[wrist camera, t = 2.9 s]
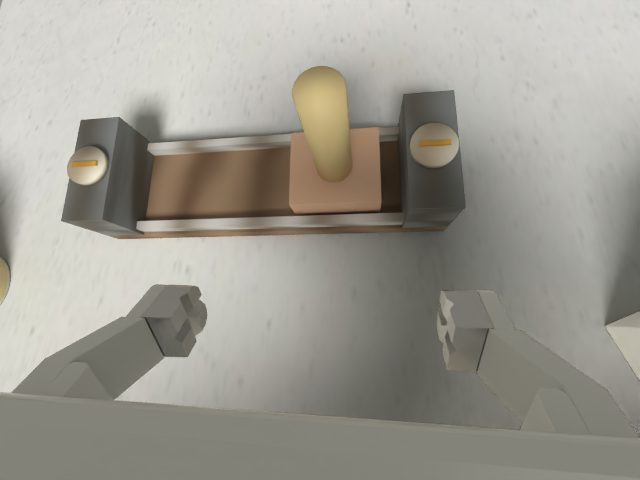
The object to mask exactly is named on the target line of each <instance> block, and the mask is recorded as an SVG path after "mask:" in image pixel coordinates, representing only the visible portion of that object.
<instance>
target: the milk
mask: <svg viewBox="0 0 640 480" xmlns="http://www.w3.org/2000/svg"><path fill="white" fill-rule="evenodd" d="M605 328H606V329H607V331H608V332H609V334H610V335H611V337H612V339H613V340H614V342H615V343H616V345H617V346H618V348H619V349H620V351H621V353H622V354H623V356H624V357H625V359H626V360H627V362H628V363H629V365H630V366H631V368H632V370H633V371H634V373H635V374H636V376H637V377H638V379H639V380H640V311H639V312H636V313H634V314H631V315H629V316H627V317H624V318H622V319H620V320H617V321H615V322H613V323H610V324H608V325H606V326H605Z"/></svg>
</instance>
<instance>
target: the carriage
mask: <svg viewBox="0 0 640 480" xmlns="http://www.w3.org/2000/svg"><path fill="white" fill-rule="evenodd" d="M292 96H293V100H294V103H295V106H296V109H297V112H298V115H299V118H300V121H301V124H302V127H303V130H304V132H297V133H291V153H290V185H289V206H290V207H291V208H292V210H293V211H294V213H295V214H296V215H308V214H337V213H367V212H380V208H381V201H382V200H381V173H380V146H379V127H371V128H356V129H349V118H348V106H347V94H346V83H345V80H344V78H343V76H342V75H341V74H340V73H339V72H338V71H337V70H335V69H333V68H330V67H326V66H318V67H313V68H310V69H308V70H306V71H304V72H303V73H302V74H300V75H299V77H298V78H297V79H296V81H295V82H294V85H293V88H292Z"/></svg>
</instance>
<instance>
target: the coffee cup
mask: <svg viewBox="0 0 640 480" xmlns="http://www.w3.org/2000/svg"><path fill="white" fill-rule="evenodd" d="M9 285H10V271H9V267H8V265H7V263H6V262H5V261H4V259H2V258H1V257H0V305H1V303H2V302H3V300H4V299H5V297H6V295H7V292H8V289H9Z"/></svg>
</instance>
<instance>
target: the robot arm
mask: <svg viewBox="0 0 640 480" xmlns="http://www.w3.org/2000/svg"><path fill="white" fill-rule="evenodd" d="M200 297H201V292H200V290H199V287H196V286H187V285H157V284H156V285H154V286H152V287H151V288H150V289H149V290H148V291H147V293H146V294H145V295H144V296H143V297H142V298H141V300H140V301H139V302H138V303H137V304H136V305H135V307H134V308H133V309H132V310H131V311H130V312H129V314H128V315H127V316H126V317H120V318H119V319H117V320H115V321H113V322H111V323H109V324H108V325H106V326H104V327H102V328H100V329H98V330H97V331H95V332H93V333H91V334H89V335H87V336H86V337H84V338H82V339H80V340H78V341H77V342H75V343H73V344H71V345H69V346H67V347H66V348H64V349H62V350H60V351H58V352H56V353H55V354H53V355H51V356H49V357H47V358H45V359H44V360H43V361H42V362H41V363H40V364H39V365H38V366H37V367H36V368H35V369H34V370H33V371H32V372H31V373H30V374H29V375H28V376H27V377H26V378H25V379H24V380H23V381H22V382H21V383H20V384H19V385H18V386H17V387H16V388H15V389H14V390H13V392H12V393H5V392H0V480H640V437H639V436H638V434H637V433H636V431H635V430H634V429H633V427H632V426H631V424H630V423H629V421H628V420H627V418H626V417H625V415H624V414H623V412H622V411H621V409H620V408H619V406H618V405H617V404H616V402H615V401H614V399H613V398H612V396H611V395H610V393H609V392H608V390H606V389H605V388H603V387H602V386H601V385H599V384H598V383H596V382H595V381H593V380H592V379H590V378H589V377H588V376H586V375H585V374H583V373H582V372H580V371H579V370H577V369H576V368H575V367H573V366H572V365H570V364H569V363H567V362H566V361H564V360H563V359H562V358H560V357H559V356H557V355H556V354H554V353H553V352H551V351H550V350H549V349H547V348H546V347H544V346H543V345H541V344H540V343H538V342H537V341H536V340H534V339H533V338H531V337H530V336H528V335H527V334H526V333H524V332H523V331H521V330H515V328H514V327H513V325H512V323H511V321H510V319H509V317H508V315H507V313H506V311H505V309H504V307H503V305H502V303H501V301H500V300H499V298H498V296H497V294H496V292H495V291H493V290H476V291H472V290H442V291H441V294H440V299H439V300H440V304H441V308H440V309H439V310H438V313H437V331H438V336H439V340H440V341H441V342H442V343H443V350H442V353H443V357H444V361H445V365H446V369H447V370H452V371H465V372H477V375H478V376H479V377H480V378H481V379H482V380H483V381H484V382H485V383H486V385H487V386H488V387H489V388H490V389H491V390H492V391H493V392H494V393H495V394H496V395H497V396H498V398H499V399H500V400H501V401H502V402H503V403H504V404H505V405H506V406H507V407H508V408H509V410H510V411H511V412H512V413H513V414H514V415H515V416H516V417H517V418H518V419H519V420H520V422H521V423H522V426H521V428H520V430H513V429H500V428H486V427H472V426H459V425H445V424H431V423H418V422H404V421H390V420H376V419H362V418H348V417H334V416H320V415H306V414H293V413H279V412H266V411H252V410H238V409H225V408H211V407H197V406H184V405H170V404H156V403H143V402H129V401H115V400H114V399H116V398H117V397H118V396H119V395H120V394H122V393H123V392H124V391H125V390H126V389H128V388H129V387H130V386H131V385H132V384H134V383H135V382H136V381H137V380H138V379H140V378H141V377H142V376H143V375H144V374H145V373H147V372H148V371H149V370H150V369H151V368H153V367H154V366H155V365H156V364H157V363H159V362H160V361H161V360H162V359H163V358H164V357H188V356H189V354H190V352H191V350H192V348H193V347H194V345H195V343H196V337H195V336H196V335H197V334H198V333H200V332H201V331H202V330H203V328H204V326H205V324H206V320H207V309H206V306H205V304H204V303H203V302H202V301H201V300H199V299H200Z"/></svg>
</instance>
